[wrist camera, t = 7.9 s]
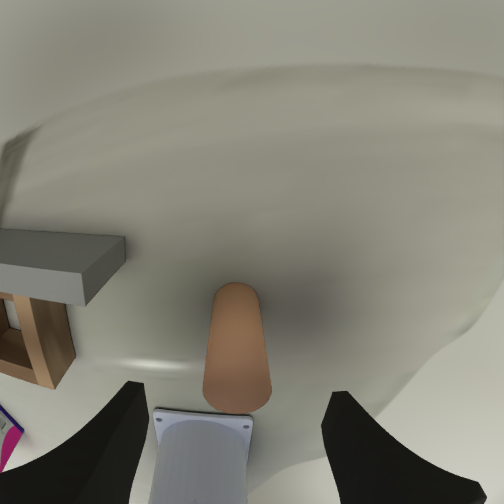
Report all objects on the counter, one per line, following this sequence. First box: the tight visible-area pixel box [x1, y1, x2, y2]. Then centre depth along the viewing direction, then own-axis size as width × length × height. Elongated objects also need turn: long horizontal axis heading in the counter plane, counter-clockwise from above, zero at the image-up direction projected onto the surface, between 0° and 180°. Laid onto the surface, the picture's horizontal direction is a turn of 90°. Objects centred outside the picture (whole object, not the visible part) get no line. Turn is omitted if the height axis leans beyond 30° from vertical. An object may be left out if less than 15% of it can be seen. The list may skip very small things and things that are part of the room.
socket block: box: [0, 292, 76, 390], centre depth 17 cm, size 8×8×4 cm
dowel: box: [203, 283, 272, 414], centre depth 16 cm, size 3×3×8 cm
